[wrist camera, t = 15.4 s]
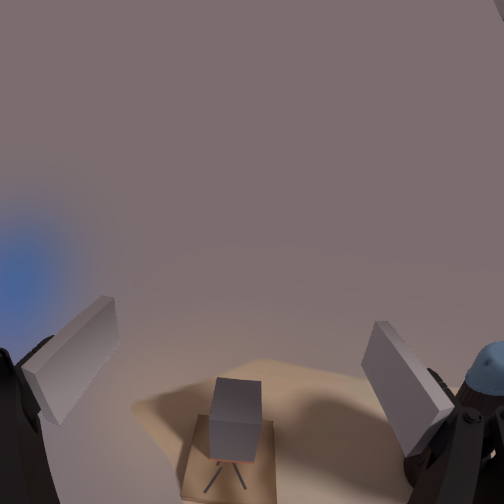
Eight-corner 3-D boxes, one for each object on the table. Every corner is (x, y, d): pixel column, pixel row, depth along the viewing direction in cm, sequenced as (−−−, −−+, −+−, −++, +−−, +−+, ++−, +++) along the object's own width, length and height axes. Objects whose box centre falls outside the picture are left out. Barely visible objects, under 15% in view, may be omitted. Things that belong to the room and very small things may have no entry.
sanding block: (254, 424, 37) (261, 381, 34) (253, 463, 29) (261, 424, 26) (216, 421, 37) (217, 377, 34) (210, 460, 29) (208, 419, 26)
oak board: (271, 427, 38) (273, 421, 38) (274, 507, 23) (276, 503, 22) (199, 420, 38) (198, 414, 38) (181, 499, 23) (180, 495, 22)
